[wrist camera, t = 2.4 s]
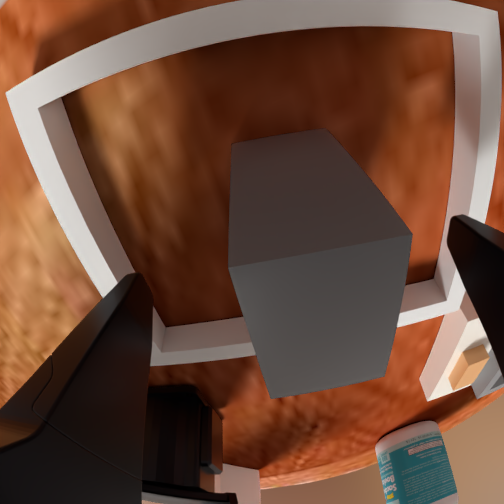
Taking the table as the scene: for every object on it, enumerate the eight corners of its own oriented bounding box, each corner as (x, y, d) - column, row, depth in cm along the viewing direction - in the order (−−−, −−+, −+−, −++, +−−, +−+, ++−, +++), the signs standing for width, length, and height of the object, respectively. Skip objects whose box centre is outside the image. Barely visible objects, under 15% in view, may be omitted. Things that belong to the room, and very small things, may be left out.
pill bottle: (368, 437, 27) (390, 554, 16) (436, 410, 25) (468, 526, 14) (378, 450, 31) (397, 546, 20) (435, 428, 29) (461, 523, 19)
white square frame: (154, 341, 15) (150, 366, 14) (30, 83, 8) (5, 92, 6) (446, 289, 14) (458, 310, 13) (470, 9, 6) (497, 11, 5)
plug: (257, 255, 12) (270, 398, 8) (231, 143, 10) (227, 267, 5) (334, 241, 12) (384, 376, 7) (325, 128, 10) (412, 234, 5)
